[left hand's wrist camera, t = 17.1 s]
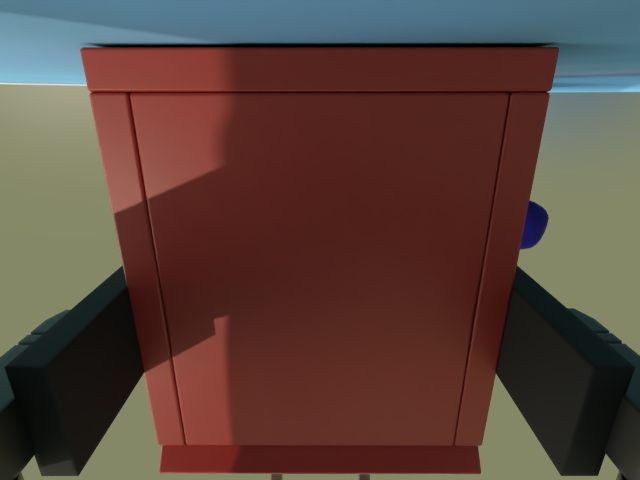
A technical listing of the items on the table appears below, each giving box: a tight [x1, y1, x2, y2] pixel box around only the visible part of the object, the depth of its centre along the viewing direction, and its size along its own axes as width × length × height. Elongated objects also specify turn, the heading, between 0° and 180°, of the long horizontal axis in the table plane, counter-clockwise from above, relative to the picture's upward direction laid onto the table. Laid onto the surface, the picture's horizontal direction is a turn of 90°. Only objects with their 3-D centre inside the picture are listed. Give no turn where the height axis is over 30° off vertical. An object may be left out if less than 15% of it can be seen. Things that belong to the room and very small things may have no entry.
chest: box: [81, 47, 559, 446], centre depth 18 cm, size 17×10×11 cm, turn 0°
